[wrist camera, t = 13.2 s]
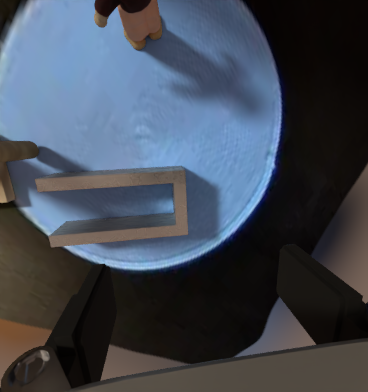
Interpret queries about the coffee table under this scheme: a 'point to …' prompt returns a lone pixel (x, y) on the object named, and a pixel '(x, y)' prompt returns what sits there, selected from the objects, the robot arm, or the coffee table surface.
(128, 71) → the coffee table surface
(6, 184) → the pin stand
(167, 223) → the steel C-link
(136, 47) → the grandmother figurine
